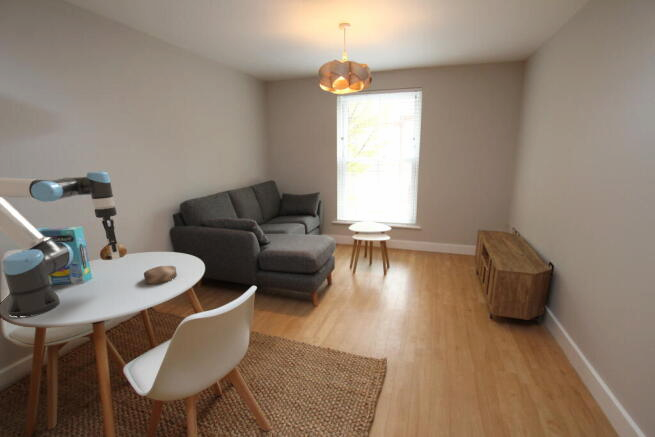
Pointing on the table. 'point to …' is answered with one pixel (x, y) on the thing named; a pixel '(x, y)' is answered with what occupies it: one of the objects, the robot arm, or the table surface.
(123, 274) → the table surface
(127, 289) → the table surface
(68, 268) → the game box
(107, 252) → the bread roll
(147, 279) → the walnut stand
